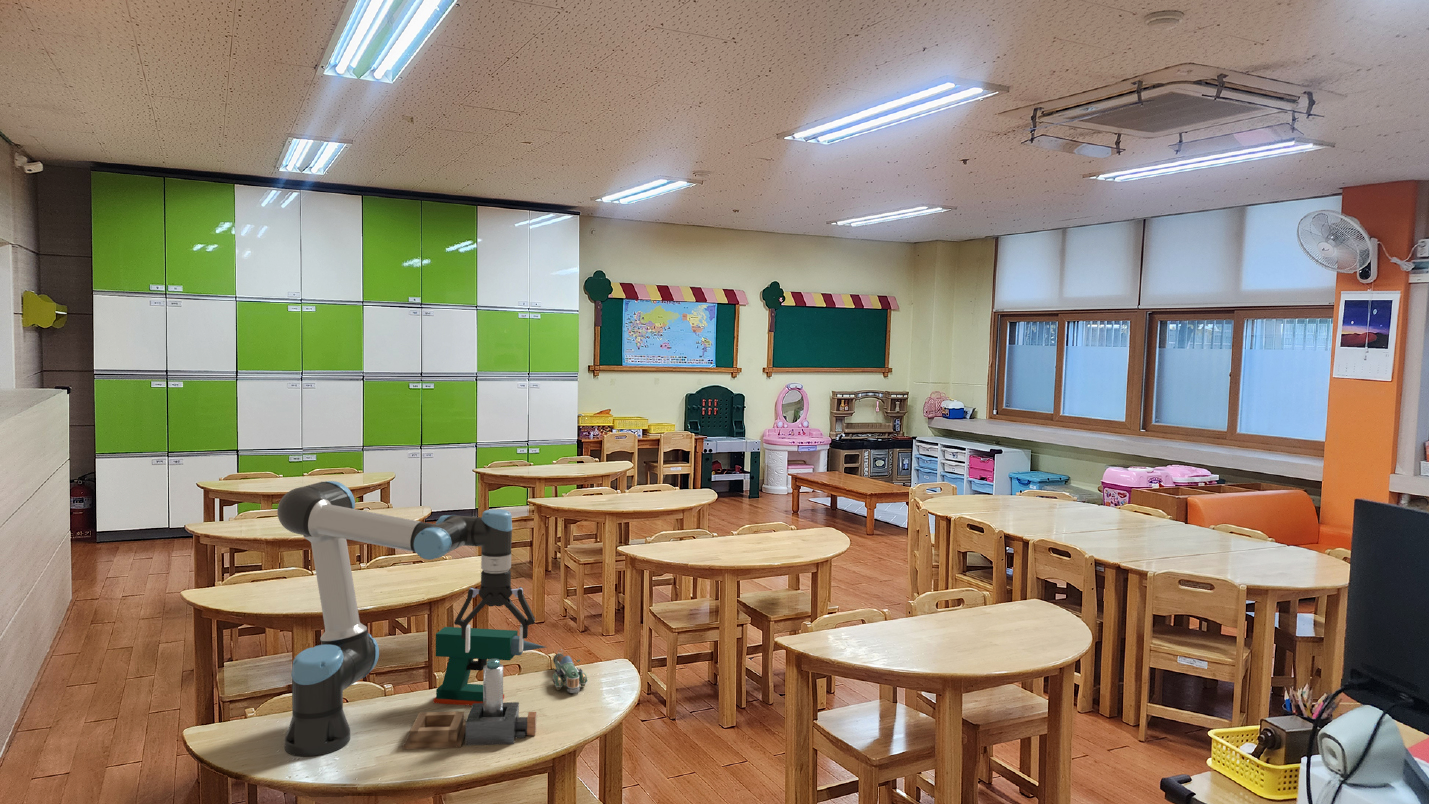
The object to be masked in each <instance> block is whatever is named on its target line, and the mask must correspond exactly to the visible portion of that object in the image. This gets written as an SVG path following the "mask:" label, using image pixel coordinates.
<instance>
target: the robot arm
mask: <svg viewBox="0 0 1429 804" xmlns="http://www.w3.org/2000/svg"><path fill="white" fill-rule="evenodd" d="M277 505H278V506H277V508H276V509H277V511H276V512H277V513H276V514H277V519H278V521H279V523H280V524H281V526H282V527H283V528H284V529H285V530H286V531H289V532H290V533H293V534H297V535H301V536H303V538H304V539H305V540H306V541H309V542H310V544H311V545H310V546H311V551H312V556H313V564H314V568H315V574H316V575H315V576H316V581H317V582H316V583H317V588H318V593H319V601H320V606H321V611H322V618H323V626H324V632H323V634H322V635H321V636H320V644H319V645H315V646H314V647H308V648H306V649H303V650H302V651H300V652H299V653H298V654H297V655H296V656H295V657H294V658H293V660H292V667H291V668H292V669H291V674H290V675H291V694H292V695H291V702H292V703H291V704H292V707H291V709H292V710H291V711H292V713H291V715H292V717H291V719H290V723H289V725H288V728H287V731H286V734H285V738H284V749H285V752H286V753H288V754H290V755H293V756H298V757H315V756H321V755H324V754H329V753H332V752H335V751H338V750H340V749H341V748H343V747H345V746H347V744H348V743H350V740H351V728H350V725H349V722H348V720H347V717H346V714H345V712H344V697H343V696H344V694H343V693H344V691H345V690H346V689H348V688H349V687H351V686H352V685H354V684H355V683H357V682H359V681H360V680H363V679H364V678H365V677H367V676H368V675H369V673H371V671H373V670H374V668H375V667H376V666H377V663H378V660H379V658H380V657H379V656H380V648H379V644H378V642H377V640H376V638H374V637H373V636H372V634H370V633H369V632H368V627H367V626H366V625H364V623H361V621H360V615H359V609H358V603H357V596H356V591H355V585H354V584H355V583H354V578H353V572H352V567H351V560H350V554H349V548H348V547H349V546H348V542H347V540H350V541H356V542H361V543H365V544H370V545H376V546H380V547H381V546H382V547H386V548H391V549H396V550H403V551H407V552H413V553H415V554H417V555H418V556H419V557H420V558H422V559H423V560H435V559H440V558H442V557H443V556H445V555H447V554H448V553H450V552H452V551H455V550H456V549H459V548H460V547H463V546H464V547H465V546H466V547H467V546H468V547H481V557H480V558H481V563H480V564H481V565H480V568H481V570H482V571H481V573H480V588H474V587H472V586H470V587H469V589H468V590H467V597H466V600H465V601H464V603H463V604H462V607H461V609H460V611H459V612H458V614H457V616H456V618H455V620H454V623H453V624H454V625H455V626H456V625H457V626H460V628H462V633H461V637H462V639H466V646H465V653H468V652H469V650H470V628H471V624H469V623H470V622H471V621H472V620H473V619H474V618H475V617H476V615H477V614H478V613H479V612H480V611H481V610H482V609H483V608H484V607H485V606H486V605H487V606H488V607H502V606H504V607H505V608H507V610H509V611H510V613H511V614H512V615H513V617H515V619H516V620H517V621H518V622H519V623H520V625H519V636H520V640H519V652H522V651H523V638H524V639H527V638H528V635H529V626H530V625H534V624H535V621H536V617H535V616H534V614H533V612H532V609H531V608H530V606H529V603H528V601H527V599H526V598H525V594H524V588H523V587H522V586H519V587H518V588H512V586H511V585H512V571H511V570H510V569H512V540H513V539H512V538H513V522H512V521H513V519H512V518H513V517H512V513H511V511H509V510H507V509H498V508H497V509H493V508H492V509H491V508H490V509H486V510H484V511H483V512H482V513H481V516H467V515H465V516H463V515H456V514H451V515H449V514H447V515H441V516H440V517H438V520H436V522H435V523H429V522H424V521H419V520H414V519H410V518H403V517H399V516H394V515H388V514H382V513H377V512H371V511H367V510H362V509H361V510H360V509H355V508H356V501H355V497H354V494H353V493H352V491H351V490H350V488H348V486H347V485H345V484H343V483H341V482H340V481H339V482H338V481H335V480H328V481H326V480H325V481H319V482H316V483H312V484H308V485H305V486H300V487H296V488H293V489H291V490H290V491H287V492H286V493H285V494H284V495H283V496H282V498H281V499H280V500H279V503H278V504H277ZM477 595H479V597H480V598H481V601H480V602H479V603H478V604H477V605H476V606H475V607H474V608H473V609H472V611H471V612H470V613H469V614H468V615H467V616H466V617H465V618H464V619H462V618H463V616H464V614H465V613H466V611H467V609H468V608H469V605H470V603H471V601H472V599H473V598H476V596H477ZM512 595H514V597H515V598H517V599H518V602H519V604H520V606H521V608H522V610H523V612H524V614H525V615H524V614H523V613H522V612H521V611H520V610H519V608H518V607H517V606H516V605H515V604H514V602H513V600H512V599H511V596H512ZM525 616H526V617H525ZM523 652H524V651H523Z"/></svg>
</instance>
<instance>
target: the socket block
mask: <svg viewBox="0 0 1429 804" xmlns="http://www.w3.org/2000/svg"><path fill="white" fill-rule="evenodd" d="M519 713H520V702H519V701H515V702H513V701H511V702H507V701H506V702H503V717H483V703H473V705H471V708H470V710H469V713H468V716H467V718H466V735H465V746H487V745H489V746H490V745H493V746H495V745H514V744H515V741H516V739H525V737H526V735H525V731H516V717H520V714H519Z"/></svg>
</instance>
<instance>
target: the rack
mask: <svg viewBox="0 0 1429 804" xmlns="http://www.w3.org/2000/svg"><path fill="white" fill-rule="evenodd" d="M466 720H467V719H466ZM466 720H465V711H464V710H463V711H431V712H428V711H427V712H426V711H425V712H424V711H423V712H419V713H418V714H417V717H416V718H415V720H414V721H413V724H412V726H411V728H410V729H409V734H408V736H407V738H406V739H405V742H404V744H403V745H402V746H403V750H418V749H421V750H424V749H425V750H426V749H448V748H449V749H451V748H452V749H453V748H455V749H456V748H462V745H463V742H464V740H465V739H466Z"/></svg>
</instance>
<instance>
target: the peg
mask: <svg viewBox="0 0 1429 804" xmlns="http://www.w3.org/2000/svg"><path fill="white" fill-rule="evenodd" d="M500 662H501V660H499V659H487V665H485V666H484V667H483V670H482V671H483V674H482V675H483V679H482V681H483V683H482V685H483V717H503V703H504V699H503V694H504V665H503V664H501V663H500Z"/></svg>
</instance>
